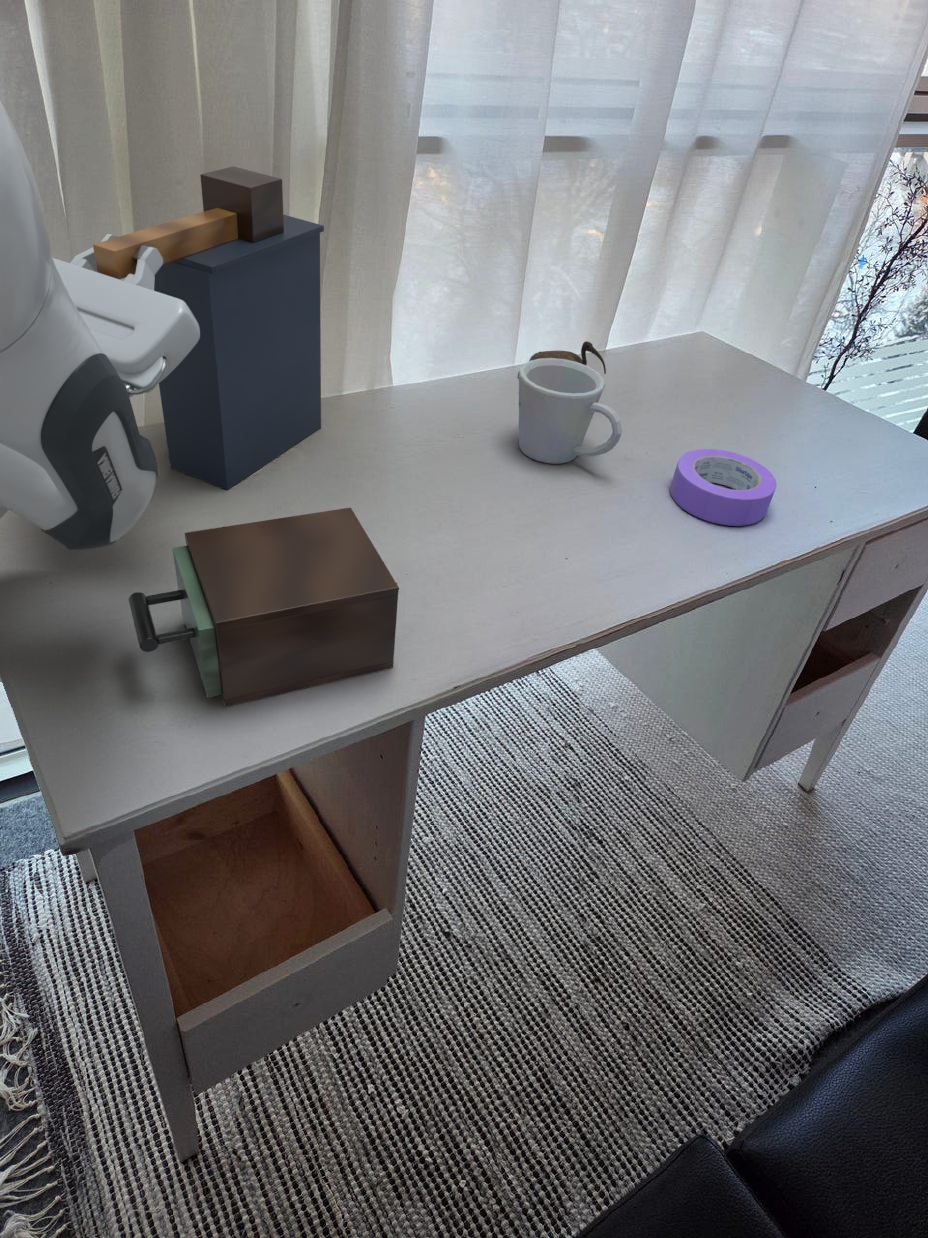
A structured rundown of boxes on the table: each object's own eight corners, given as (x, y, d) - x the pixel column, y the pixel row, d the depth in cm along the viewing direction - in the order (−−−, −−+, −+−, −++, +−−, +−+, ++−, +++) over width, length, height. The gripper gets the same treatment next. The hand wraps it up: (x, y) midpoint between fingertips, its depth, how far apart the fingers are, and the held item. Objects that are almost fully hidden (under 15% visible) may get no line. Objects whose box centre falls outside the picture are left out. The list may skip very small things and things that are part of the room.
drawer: (153, 710, 66) (139, 641, 61) (132, 623, 73) (118, 556, 68) (366, 661, 73) (369, 596, 68) (328, 586, 80) (328, 522, 75)
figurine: (607, 410, 117) (621, 350, 111) (585, 417, 115) (598, 356, 109) (538, 371, 125) (548, 313, 119) (516, 377, 122) (526, 318, 117)
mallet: (135, 285, 71) (125, 222, 68) (81, 267, 73) (70, 205, 69) (284, 232, 86) (282, 178, 83) (236, 218, 88) (233, 165, 84)
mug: (542, 421, 112) (555, 350, 106) (633, 468, 105) (653, 395, 99) (490, 444, 106) (501, 369, 99) (583, 496, 99) (601, 419, 92)
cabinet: (225, 707, 68) (215, 623, 62) (195, 614, 76) (184, 532, 70) (393, 668, 74) (399, 587, 68) (349, 585, 82) (350, 507, 76)
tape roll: (662, 470, 106) (670, 443, 103) (752, 479, 106) (762, 452, 104) (679, 522, 97) (688, 494, 94) (777, 531, 97) (789, 503, 95)
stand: (231, 491, 92) (211, 266, 76) (166, 466, 94) (135, 243, 79) (324, 429, 104) (324, 225, 89) (265, 407, 107) (255, 206, 92)
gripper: (121, 377, 64) (217, 246, 68) (-69, 307, 69) (30, 190, 73) (159, 426, 69) (246, 303, 73) (-19, 358, 75) (70, 247, 79)
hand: (136, 246), depth 73 cm, fingers closed on mallet, 2 cm apart
